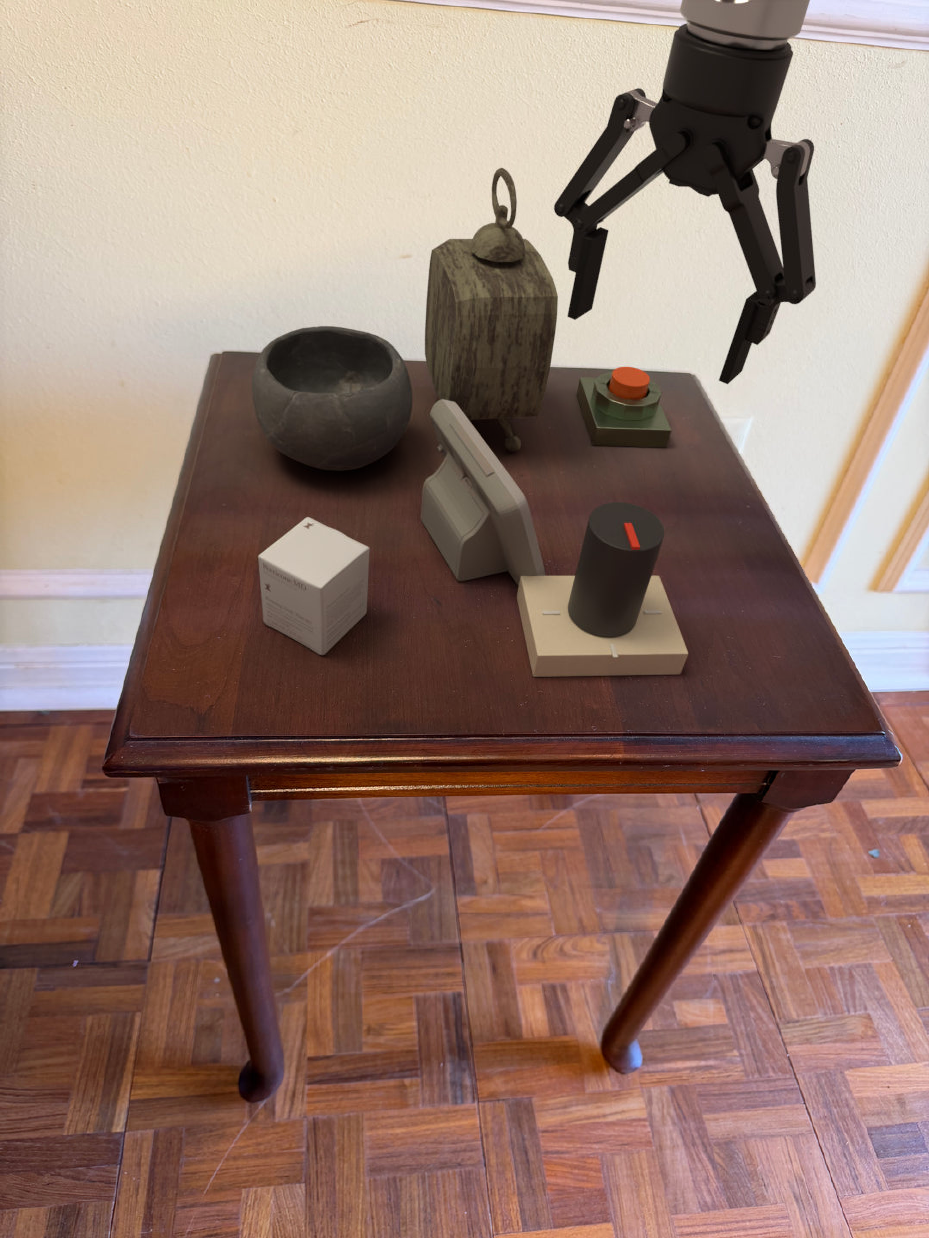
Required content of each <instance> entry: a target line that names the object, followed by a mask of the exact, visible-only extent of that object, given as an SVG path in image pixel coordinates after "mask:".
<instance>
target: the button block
mask: <svg viewBox="0 0 929 1238" xmlns="http://www.w3.org/2000/svg"><path fill="white" fill-rule="evenodd" d="M613 371H614V370H610V371H608V372H604V373H601V374H599V376H598V377H588V376H587V377H584V376H582V377H581V376H580V377H579V380H578V385H577V389H576V397H577V400H578V404H579V407H580V410H581V412H582V413H581V414H582V415H583V419H584V423H585V425H586V428H587V431H588V434H589V437H590V441H591V444H592V446H601V447H602V446H605V447H633V448H634V447H635V448H636V447H637V448H638V447H639V448H668V445H669V441H670V437H671V434H672V431H673V430H672V428H671V426H670V423H669V420H668V418H667V415H666V414H665V412H664V410H663V407H662V405H661V403H660V402H661V401H660V400H661V398H662V391H661V389H660V387H659V385H658V384H657V383H656V382H654V381H653V380H651V379H650V382H649V386H648V390H647V393H646V396H645V397H644V398H642V399H639V400H634V399H624V398H621V397H618V396H616V395H615V394H613V393H612V392H610V391H609V384H610V380H611V376H612V372H613Z"/></svg>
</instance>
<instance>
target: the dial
mask: <svg viewBox="0 0 929 1238" xmlns="http://www.w3.org/2000/svg"><path fill="white" fill-rule="evenodd" d="M586 525H587V526H586V529H585V533H584V537H583V542H582V545H581V549H580V553H579V557H578V562H577V566H576V570H575V575H574V576H575V578H574V582H573V586H572V590H571V594H570V598H569V603H568V613H569V616H570V618H571V619H572V621H573V622H574V623H575V624H576V625H577V626H578V627H579V628H580V629H582V630H583V631H585V632H587V633H589V634H592V635H595V636H599V637H607V638H611V637H619V636H622V635H625V634H627V633H628V632H630V631H631V630H632V629H633V628H634V626H635V624H636V622H637V619H638V616H639V612H640V609H641V606H642V603H643V600H644V597H645V594H646V591H647V588H648V585H649V582H650V579H651V576H653V572H654V569H655V566H656V563H657V559H658V557H659V555H660V550H661V547H662V545H663V542H664V540H665V534H666V532H665V531H666V530H665V527H664V525H663V523H662V521H661V520H660V519H659V518H658V516H657V515H656V514H654V513H653V512H652V511H650V510H648V509H647V508H644V507H642V506H640V505H637V504H634V503H630V502H624V501H623V502H621V501H615V502H607V503H603V504H601V505H598V506H597V507H596V508H593V510H592V512H590V514H589V517H588V521H587V524H586Z"/></svg>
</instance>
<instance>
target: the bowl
mask: <svg viewBox="0 0 929 1238" xmlns="http://www.w3.org/2000/svg"><path fill="white" fill-rule="evenodd" d="M409 374H410V373H409V371H408V368H407V365H406V363H405V361H404V359H403V357H402V356H401V354H400V353H399V352H398V350H397V349H396V348H395V347H394V345H393V344H392V343H391V342H389V340H386V339H384V338H383V337H381V336H380V335H379V336H378V335H376V334H373V333H370V332H367V331H363V330H358V329H353V328H349V327H348V328H347V327H341V326H335V325H334V326H333V325H320V326H310V327H309V326H307V327H301V328H298V329H295V330H291V331H289V332H286V333H285V334H282V335H280V336H277V337H276V338H274V339H272V340H271V341H270V342H269V343H267V344H266V346H264V348H263V349H262V351H261V352H260V353H259V356H258V358H257V360H256V363H255V365H254V369H253V372H252V378H251V396H252V403H253V410H254V414H255V416H256V419H257V422H258V424H259V427H260V429H261V431H262V432H263V434H264V437H265V439H266V441H268V442H269V444H270V445H271V446H273V448H274V449H276V450H277V451H278V452H280V453H281V454H283V455H285V456H287V457H288V458H290V459H292V460H295V461H297V462H299V463H300V464H303V465H306V466H309V467H312V468H316V469H319V470H323V471H337V472H339V471H341V472H342V471H343V472H344V471H351V470H352V471H353V470H356V469H360V468H363V467H365V466H368V465H370V464H372V463H374V462H376V461H377V460H379V459H381V458H383V457H384V456H385V455H387V454H388V453H389V452H390V451H392V449H394V447H395V446H397V444H398V442H399V441H400V439H401V438H402V437H403V435H404V433H405V432H406V429H407V428H408V425H409V422H410V419H411V414H412V410H413V388H412V383H411V379H410V375H409Z"/></svg>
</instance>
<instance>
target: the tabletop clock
mask: <svg viewBox="0 0 929 1238" xmlns="http://www.w3.org/2000/svg"><path fill="white" fill-rule="evenodd" d="M500 178H502V180H503V181H504V183H505V186H506V187H507V191H508V194H509V202H510V216H509V219H508V215H509V207H507V205H505V204H501V205H500V203H499V200H498V193H497V192H498V191H497V189H498V181H500ZM517 203H518V201H517V191H516V186H515V182H514V180H513V177H512V175H511V174H510V172H509V171H508V170H507V169H506V168H503V167H500V168H497V169H496V170H495V172H494V174H493V178H492V183H491V206H492V209H493V210H492V211H493V214H494V217H495V222H489V223H487V224H483V226H481V227H480V228H479V229H477V230H476V232H475V233H474V235H473V237H472V238H449V239H447V240H445V241H444V242H442V243H440V244H439V245H437V246H436V247H434V248H433V249H431V252H430V259H429V267H428V279H427V291H426V302H425V303H426V305H425V325H424V357H425V362H426V367H427V370H428V373H429V376H430V379H431V382H432V384H433V387H434V391H435V392H436V395H437V397H438V400H441V399H444V400H448V401H453V402H455V403H456V404H457V405H458V406H459V408H460V409H461V410H462V412H463V413H464V414H465V416H466V417H467V418H468V420H469V421H471V420H474V421H475V420H495V419H497V420H498V421H499V423H500V425H501V427H502V430H504V433H505V435H506V437H507V438H506V439H505V443H504V445H505V448H506V450H508V451H509V452H511V453H513V452H517V451H519V449H521V446H522V444H521V443H522V442H521V441H522V440H521V439H520V438H519V437H518V435H514V434H513V431H512V428H511V424H510V421H509V419H511V418H512V419H514V418H535V417H538V416H539V413H540V411H541V408H542V405H543V403H544V402H543V401H544V398H545V394H546V389H547V386H548V385H547V384H548V379H549V375H550V370H551V364H552V358H553V352H554V345H555V338H556V331H557V321H558V304H559V296H558V292H557V291H558V290H557V287H556V284H555V281H554V278H553V276H552V274H551V272H550V270H549V269H548V266H547V264H546V263H545V261H544V259H543V257H542V255H541V254H540V253H539V251H538V250H537V248H535V247H534V245H533V244H532V243H531V242H530V240H528V239H527V238H523V236H522V234H521V232H519V230H518V229H516V228H515V227H514V224H515V222H516V221H515V220H516V217H517V206H518V205H517Z"/></svg>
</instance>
